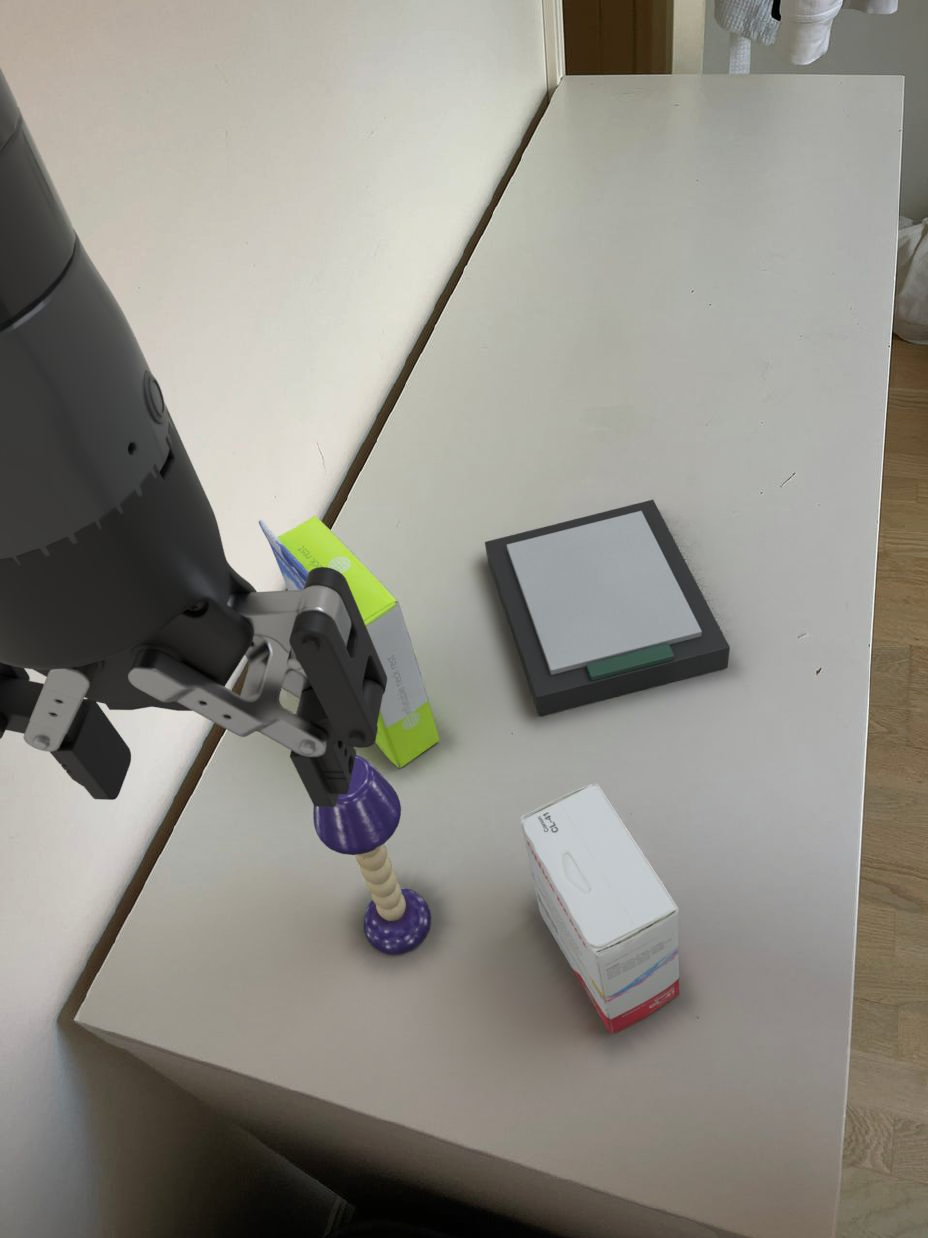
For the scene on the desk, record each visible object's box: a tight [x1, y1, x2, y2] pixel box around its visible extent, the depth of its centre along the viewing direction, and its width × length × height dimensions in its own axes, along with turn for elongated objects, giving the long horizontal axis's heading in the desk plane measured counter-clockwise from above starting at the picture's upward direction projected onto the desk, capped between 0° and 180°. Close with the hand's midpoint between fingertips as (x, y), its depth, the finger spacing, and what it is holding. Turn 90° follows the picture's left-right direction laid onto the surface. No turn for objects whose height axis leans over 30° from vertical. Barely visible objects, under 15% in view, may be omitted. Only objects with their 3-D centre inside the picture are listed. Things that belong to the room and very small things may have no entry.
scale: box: [484, 499, 731, 717], centre depth 75 cm, size 16×14×3 cm
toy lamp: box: [312, 754, 432, 956], centre depth 56 cm, size 5×5×17 cm
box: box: [258, 515, 440, 769], centre depth 66 cm, size 10×4×17 cm, turn 36°
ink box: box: [519, 782, 680, 1034], centre depth 54 cm, size 9×5×12 cm, turn 25°
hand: (222, 782), depth 37 cm, fingers open, 8 cm apart
